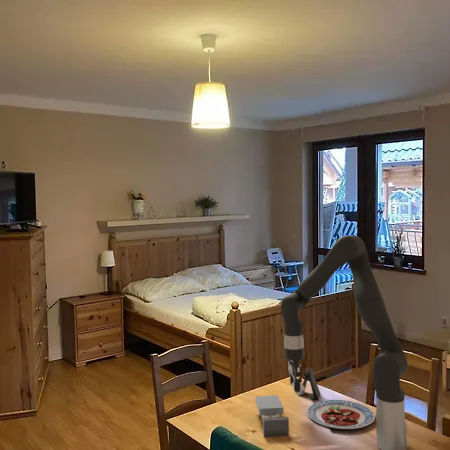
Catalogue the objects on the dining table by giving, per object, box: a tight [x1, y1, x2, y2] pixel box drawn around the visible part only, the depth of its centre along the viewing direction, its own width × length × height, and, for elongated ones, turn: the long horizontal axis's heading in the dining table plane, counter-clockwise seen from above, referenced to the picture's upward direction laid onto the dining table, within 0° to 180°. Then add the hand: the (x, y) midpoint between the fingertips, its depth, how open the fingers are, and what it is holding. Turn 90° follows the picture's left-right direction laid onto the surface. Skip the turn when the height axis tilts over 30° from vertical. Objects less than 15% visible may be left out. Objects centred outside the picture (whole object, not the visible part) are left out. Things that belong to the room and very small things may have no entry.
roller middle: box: [260, 414, 281, 423], centre depth 191 cm, size 7×4×4 cm, turn 94°
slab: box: [254, 394, 285, 416], centre depth 193 cm, size 9×12×2 cm
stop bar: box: [262, 416, 290, 438], centre depth 180 cm, size 9×2×7 cm, turn 94°
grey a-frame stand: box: [297, 367, 322, 401], centre depth 216 cm, size 9×6×12 cm, turn 70°
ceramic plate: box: [306, 399, 376, 430], centre depth 195 cm, size 26×26×3 cm
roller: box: [290, 379, 306, 395], centre depth 193 cm, size 7×4×4 cm, turn 5°
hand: (295, 388), depth 193 cm, fingers closed on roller, 6 cm apart
